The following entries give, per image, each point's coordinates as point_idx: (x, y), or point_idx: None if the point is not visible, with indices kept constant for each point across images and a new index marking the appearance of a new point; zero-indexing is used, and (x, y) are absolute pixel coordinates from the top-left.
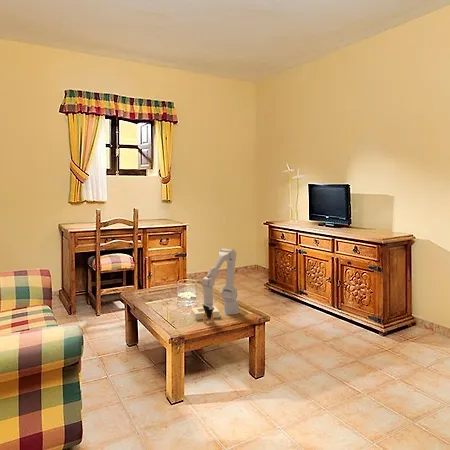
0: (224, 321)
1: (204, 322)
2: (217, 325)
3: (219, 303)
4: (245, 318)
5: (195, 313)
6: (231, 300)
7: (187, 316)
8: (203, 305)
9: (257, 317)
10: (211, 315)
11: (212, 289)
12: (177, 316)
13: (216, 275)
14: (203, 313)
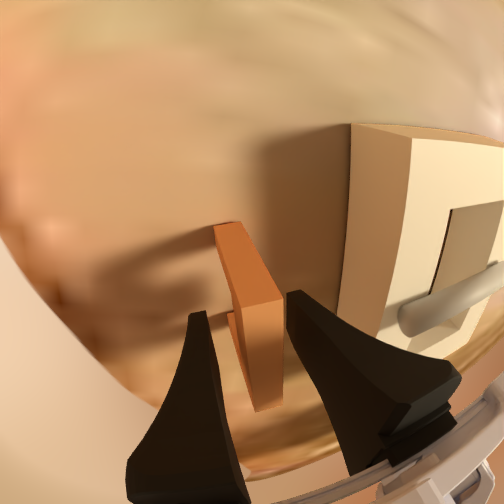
0: (224, 395)
1: (214, 233)
2: (118, 354)
3: (494, 319)
4: (255, 454)
5: (420, 143)
6: (385, 482)
7: (457, 79)
8: (442, 393)
9: (255, 472)
10: (245, 373)
11: None
12: (464, 3)
13: None
14: (389, 264)
